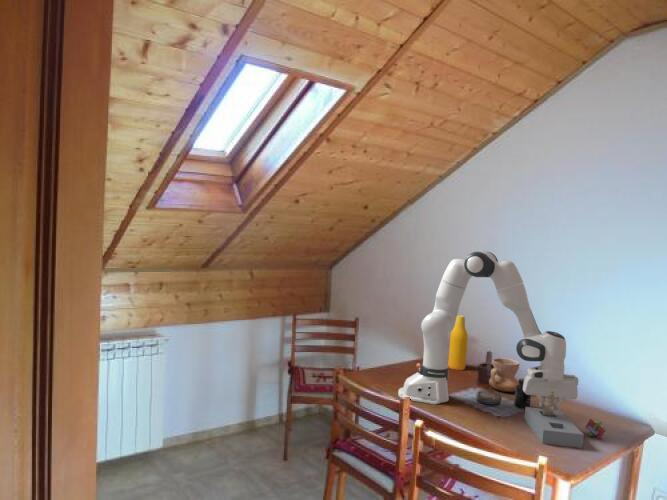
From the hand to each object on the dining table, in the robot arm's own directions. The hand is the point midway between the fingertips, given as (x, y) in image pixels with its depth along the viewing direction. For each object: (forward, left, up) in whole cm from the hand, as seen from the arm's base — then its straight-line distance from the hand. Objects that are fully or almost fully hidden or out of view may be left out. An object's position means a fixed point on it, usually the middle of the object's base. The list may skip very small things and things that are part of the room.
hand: (548, 407), depth 201 cm
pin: (0, 0, -5) cm, 5 cm away
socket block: (0, -6, -8) cm, 10 cm away
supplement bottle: (-4, +21, -8) cm, 23 cm away
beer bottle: (-25, +76, -8) cm, 80 cm away
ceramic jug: (-7, +44, -8) cm, 45 cm away
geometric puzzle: (+16, -6, -8) cm, 19 cm away
